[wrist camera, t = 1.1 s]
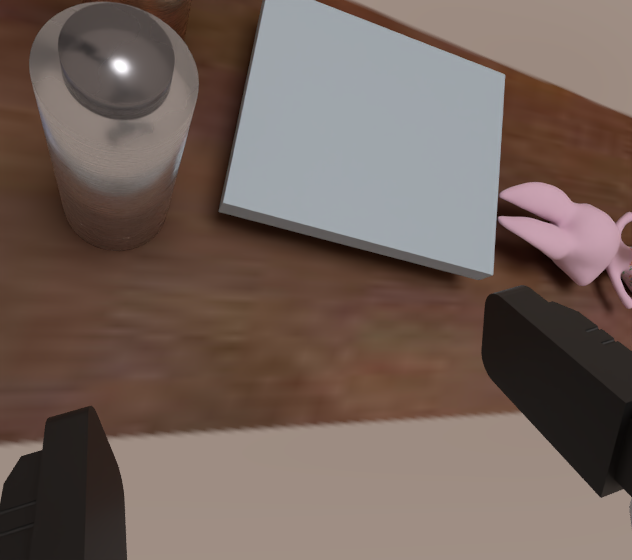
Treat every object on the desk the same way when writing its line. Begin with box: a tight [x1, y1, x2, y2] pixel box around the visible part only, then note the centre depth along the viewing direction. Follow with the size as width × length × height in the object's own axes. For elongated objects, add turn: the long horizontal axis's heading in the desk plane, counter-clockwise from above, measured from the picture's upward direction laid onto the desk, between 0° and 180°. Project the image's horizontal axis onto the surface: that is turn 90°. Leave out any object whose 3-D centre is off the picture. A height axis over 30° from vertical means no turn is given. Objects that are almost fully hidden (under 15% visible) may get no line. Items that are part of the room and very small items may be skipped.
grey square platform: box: [218, 0, 505, 280], centre depth 30 cm, size 14×12×3 cm
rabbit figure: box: [497, 182, 632, 309], centre depth 32 cm, size 6×6×15 cm
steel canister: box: [29, 2, 199, 251], centre depth 21 cm, size 5×5×12 cm
